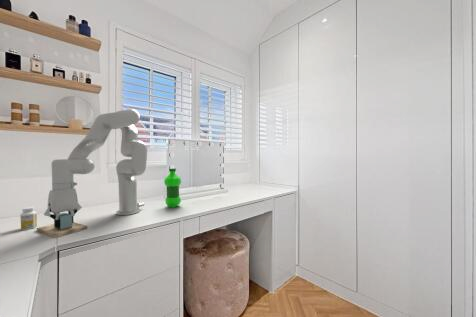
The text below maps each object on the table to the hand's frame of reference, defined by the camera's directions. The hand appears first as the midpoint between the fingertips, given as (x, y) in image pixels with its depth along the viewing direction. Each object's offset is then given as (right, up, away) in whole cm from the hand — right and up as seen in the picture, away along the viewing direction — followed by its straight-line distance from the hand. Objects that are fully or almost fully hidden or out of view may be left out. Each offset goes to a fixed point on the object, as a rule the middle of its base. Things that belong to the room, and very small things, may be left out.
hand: (64, 225), depth 96 cm
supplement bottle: (-20, -3, +4) cm, 21 cm away
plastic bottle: (+37, -1, +42) cm, 56 cm away
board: (-2, -2, +1) cm, 3 cm away
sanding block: (-1, -1, 0) cm, 1 cm away
